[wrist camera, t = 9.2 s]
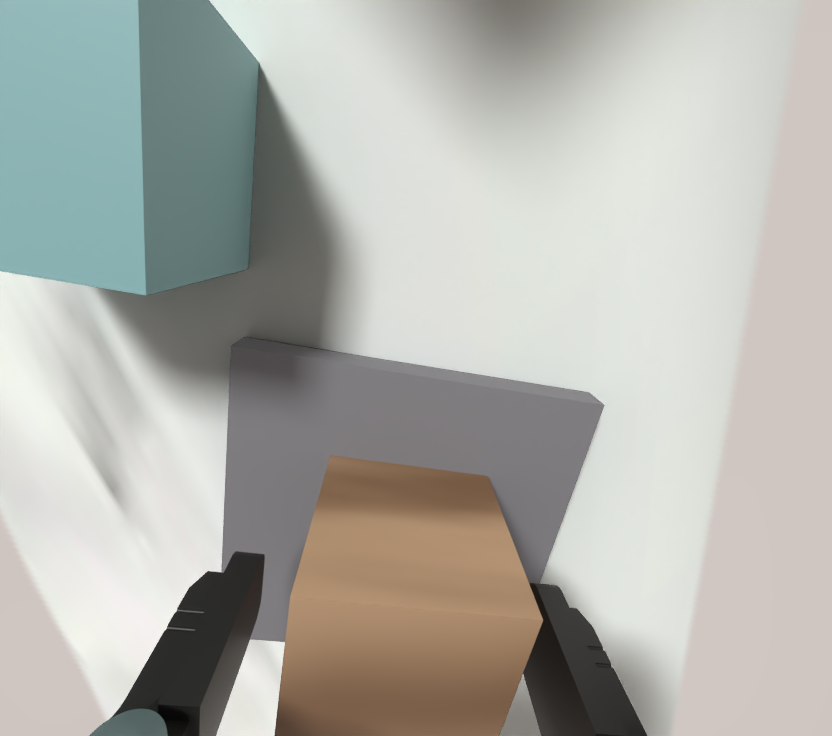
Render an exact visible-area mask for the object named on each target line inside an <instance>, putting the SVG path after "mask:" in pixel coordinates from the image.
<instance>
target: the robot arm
mask: <svg viewBox="0 0 832 736" xmlns="http://www.w3.org/2000/svg"><path fill="white" fill-rule="evenodd" d="M264 562H265V555H264V554H258V553H249V552H239V551H235V552H234V554H233V555H232V557H231V559H230V561H229V563H228V565H227V567H226V569H225V571H224V573H221V572H210V571H208V572H206V573H205V574H204V575H203V576H202V577H201V578H200V579H199V580H198V581H196V582H195V583H194V584H193V585H192V586H191V587H190V588H189V589H188V591H187V593H186V594H185V596H184V598H183V600H182V601H181V603H180V605H179V607H178V609H177V612H176V613H175V614H174V615H173V617H172V619H171V621H170V622H169V624H168V626H167V629H166V630H165V631H164V633H163V635H162V636H161V638H160V640H159V642H158V643H157V645H156V647H155V648H154V650H153V652H152V654H151V655H150V657H149V659H148V661H147V662H146V664H145V666H144V668H143V669H142V671H141V673H140V675H139V676H138V678H137V680H136V682H135V683H134V685H133V687H132V689H131V690H130V692H129V694H128V696H127V697H126V699H125V701H124V702H123V704H122V705H121V707H120V708H119V709H118V710H117V712H116V713H115V714H114V715H113V716H112V717H111V718H110V719H109V720H107V721H106V722H105V723H103V724H102V725H101V726H100V727H98V728H97V729H96V730H95V731H94V732H93V733H92V734H91V735H90V736H216V734H217V731H218V728H219V725H220V722H221V719H222V717H223V714H224V711H225V708H226V705H227V702H228V700H229V697H230V694H231V691H232V688H233V685H234V683H235V680H236V677H237V674H238V671H239V669H240V666H241V663H242V660H243V657H244V654H245V652H246V649H247V646H248V643H249V640H250V637H251V635H252V632H253V629H254V626H255V623H256V620H257V616H258V613H259V608H260V604H261V597H262V586H263V574H264ZM529 585H530V587H531V590H532V592H533V595H534V598H535V600H536V603H537V605H538V608H539V611H540V613H541V616H542V618H543V622H542V625H541V627H540V630H539V633H538V635H537V638H536V640H535V643H534V646H533V648H532V651H531V654H530V656H529V659H528V661H527V664H526V667H525V669H524V672H523V674H524V677H525V681H526V684H527V688H528V691H529V694H530V698H531V701H532V705H533V708H534V712H535V715H536V718H537V722H538V725H539V729H540V732H541V735H542V736H647V734H646V732H645V730H644V728H643V726H642V724H641V722H640V720H639V718H638V716H637V714H636V712H635V710H634V708H633V706H632V704H631V702H630V700H629V698H628V696H627V695H626V693H625V691H624V689H623V687H622V685H621V683H620V681H619V679H618V677H617V675H616V673H615V671H614V669H613V668H611V663H610V661H609V659H608V657H607V655H606V653H605V651H603V647H602V645H601V643H600V641H599V639H598V637H597V635H596V633H595V631H594V629H593V627H592V626H591V624H590V623H589V622H588V621H587V620H586V619H585V617H584V616H583V615H582V614H581V613H580V612H579V611H578V609H576V608H569V606H568V604H567V602H566V599H565V597H564V595H563V593H562V591H561V589H560V588H559V587H558V586H556V585H546V584H537V583H530V584H529Z"/></svg>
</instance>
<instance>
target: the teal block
mask: <svg viewBox="0 0 832 736" xmlns="http://www.w3.org/2000/svg"><path fill="white" fill-rule="evenodd" d="M258 73H259V62H258V61H257V60H256V58H255V57H254V56H253V55H252V53H251V52H250V51H249V50H248V48H247V47H246V46H245V45H244V43H243V42H242V41H241V40H240V38H239V37H238V36H237V35H236V33H235V32H234V31H233V30H232V28H231V27H230V26H229V25H228V23H227V22H226V21H225V20H224V19H223V17H222V16H221V15H220V14H219V12H218V11H217V10H216V9H215V7H214V6H213V5H212V4H211V2H210V1H209V0H0V271H3V272H9V273H15V274H21V275H27V276H33V277H39V278H45V279H51V280H57V281H63V282H69V283H74V284H80V285H86V286H92V287H98V288H104V289H110V290H116V291H122V292H128V293H134V294H140V295H150V294H154V293H158V292H161V291H165V290H169V289H173V288H177V287H181V286H185V285H188V284H192V283H196V282H200V281H204V280H208V279H212V278H215V277H219V276H223V275H227V274H231V273H235V272H239V271H243V270H246V269H248V262H249V243H250V224H251V205H252V186H253V168H254V149H255V130H256V111H257V92H258Z"/></svg>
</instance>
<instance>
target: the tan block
mask: <svg viewBox="0 0 832 736" xmlns="http://www.w3.org/2000/svg"><path fill="white" fill-rule="evenodd" d="M542 622H543V618H542V616H541V613H540V611H539V608H538V605H537V603H536V600H535V598H534V595H533V592H532V590H531V587H530V585H529V582H528V579H527V577H526V574H525V572H524V569H523V566H522V564H521V561H520V558H519V556H518V553H517V551H516V548H515V545H514V543H513V540H512V538H511V535H510V532H509V530H508V527H507V525H506V522H505V519H504V517H503V514H502V512H501V509H500V506H499V504H498V501H497V498H496V496H495V493H494V491H493V488H492V485H491V483H490V480H489V478H488V476H485V475H477V474H470V473H462V472H454V471H447V470H439V469H432V468H424V467H417V466H409V465H402V464H394V463H386V462H379V461H371V460H364V459H356V458H349V457H341V456H333V455H330V458H329V462H328V465H327V469H326V473H325V476H324V480H323V483H322V487H321V490H320V494H319V497H318V501H317V504H316V508H315V511H314V515H313V518H312V522H311V525H310V529H309V532H308V536H307V540H306V543H305V547H304V550H303V554H302V557H301V561H300V564H299V568H298V571H297V575H296V578H295V582H294V585H293V589H292V592H291V596H290V603H289V612H288V621H287V630H286V639H285V648H284V657H283V666H282V675H281V684H280V692H279V701H278V710H277V719H276V728H275V736H499V735H500V732H501V729H502V727H503V724H504V722H505V719H506V716H507V714H508V711H509V708H510V706H511V703H512V701H513V698H514V695H515V693H516V690H517V688H518V685H519V682H520V680H521V677H522V674H523V672H524V669H525V667H526V664H527V661H528V659H529V656H530V654H531V651H532V648H533V646H534V643H535V640H536V638H537V635H538V633H539V630H540V627H541V625H542Z"/></svg>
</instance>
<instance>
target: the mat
mask: <svg viewBox="0 0 832 736" xmlns="http://www.w3.org/2000/svg"><path fill="white" fill-rule="evenodd" d="M603 407H604V404H602V403H601V402H600V401H599V400H597V399H596V398H595V397H594V396H593V395H591V394H590V393H589V392H582V391H576V390H570V389H564V388H558V387H551V386H545V385H539V384H533V383H526V382H520V381H514V380H508V379H502V378H495V377H489V376H483V375H477V374H471V373H464V372H458V371H452V370H446V369H440V368H433V367H427V366H421V365H415V364H409V363H402V362H396V361H390V360H384V359H378V358H371V357H365V356H359V355H353V354H347V353H340V352H334V351H328V350H322V349H316V348H309V347H303V346H297V345H291V344H285V343H278V342H272V341H266V340H260V339H254V338H247V337H243V338H242V339H240V340H239V341H238V342H236V343H235V344H233V345H232V346H231V359H230V383H229V407H228V431H227V455H226V478H225V502H224V526H223V550H222V573H224V571H225V569H226V567H227V565H228V563H229V561H230V559H231V557H232V555H233V554H234V552H235V551H239V552H249V553H258V554H264V555H265V562H264V574H263V586H262V597H261V604H260V608H259V613H258V616H257V620H256V623H255V626H254V629H253V632H252V635H251V637H250V639H255V640H267V641H280V642H285V639H286V630H287V621H288V612H289V603H290V596H291V592H292V589H293V585H294V582H295V578H296V575H297V571H298V568H299V564H300V561H301V557H302V554H303V550H304V547H305V543H306V540H307V536H308V532H309V529H310V525H311V522H312V518H313V515H314V511H315V508H316V504H317V501H318V497H319V494H320V490H321V487H322V483H323V480H324V476H325V473H326V469H327V465H328V462H329V458H330V455H333V456H341V457H349V458H356V459H364V460H371V461H379V462H386V463H394V464H402V465H409V466H417V467H424V468H432V469H439V470H447V471H454V472H462V473H470V474H477V475H485V476H488V478H489V480H490V483H491V485H492V488H493V491H494V493H495V496H496V498H497V501H498V504H499V506H500V509H501V512H502V514H503V517H504V519H505V522H506V525H507V527H508V530H509V532H510V535H511V538H512V540H513V543H514V545H515V548H516V551H517V553H518V556H519V558H520V561H521V564H522V566H523V569H524V572H525V574H526V577H527V579H528V582H529V584H530V583H537V584H539V583H540V580H541V577H542V574H543V572H544V569H545V566H546V563H547V561H548V558H549V555H550V553H551V550H552V547H553V544H554V542H555V539H556V536H557V533H558V531H559V528H560V525H561V522H562V520H563V517H564V514H565V511H566V509H567V506H568V503H569V501H570V498H571V495H572V492H573V490H574V487H575V484H576V481H577V479H578V476H579V473H580V470H581V468H582V465H583V462H584V459H585V457H586V454H587V451H588V448H589V446H590V443H591V440H592V438H593V435H594V432H595V429H596V427H597V424H598V421H599V418H600V416H601V413H602V410H603Z"/></svg>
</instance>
